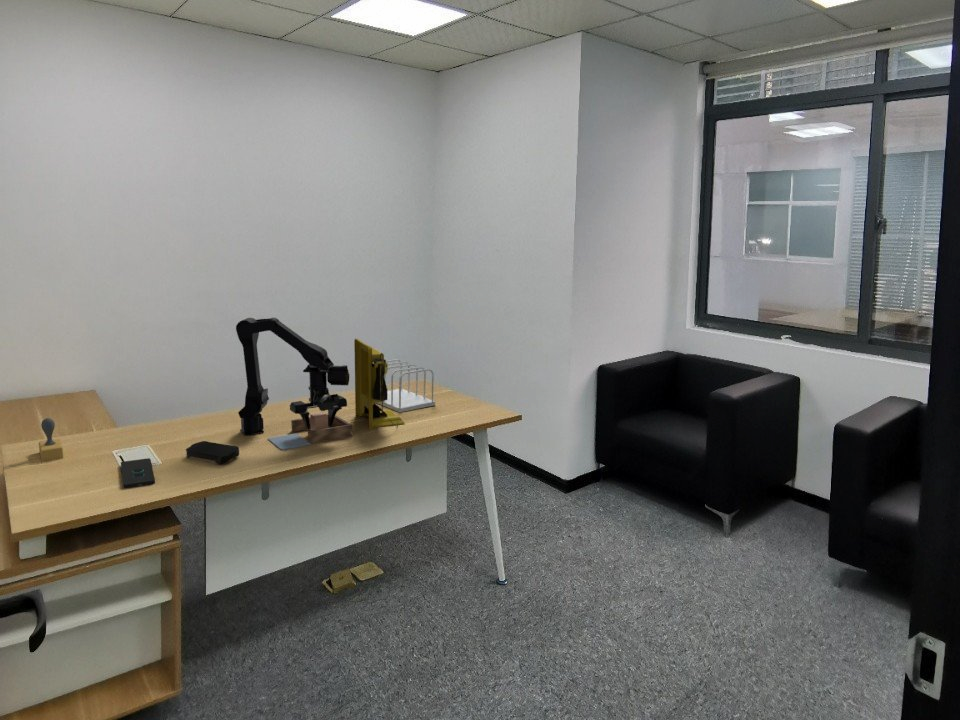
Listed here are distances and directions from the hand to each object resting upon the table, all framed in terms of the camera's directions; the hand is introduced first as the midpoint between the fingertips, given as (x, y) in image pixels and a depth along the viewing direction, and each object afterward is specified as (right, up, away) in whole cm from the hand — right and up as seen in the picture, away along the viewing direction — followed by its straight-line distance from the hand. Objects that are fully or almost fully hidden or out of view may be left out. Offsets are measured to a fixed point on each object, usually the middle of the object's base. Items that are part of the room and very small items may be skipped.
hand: (319, 428), depth 240 cm
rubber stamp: (-77, -6, -26) cm, 81 cm away
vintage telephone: (+19, +1, +16) cm, 25 cm away
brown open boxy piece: (0, -2, 0) cm, 2 cm away
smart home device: (-44, -10, -39) cm, 60 cm away
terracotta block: (0, -2, 0) cm, 2 cm away
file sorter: (+23, +6, +43) cm, 49 cm away
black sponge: (-27, -7, -25) cm, 38 cm away
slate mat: (-8, -4, -9) cm, 13 cm away
